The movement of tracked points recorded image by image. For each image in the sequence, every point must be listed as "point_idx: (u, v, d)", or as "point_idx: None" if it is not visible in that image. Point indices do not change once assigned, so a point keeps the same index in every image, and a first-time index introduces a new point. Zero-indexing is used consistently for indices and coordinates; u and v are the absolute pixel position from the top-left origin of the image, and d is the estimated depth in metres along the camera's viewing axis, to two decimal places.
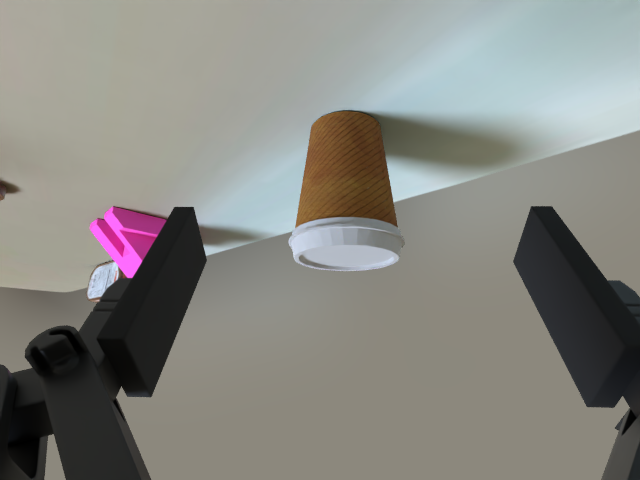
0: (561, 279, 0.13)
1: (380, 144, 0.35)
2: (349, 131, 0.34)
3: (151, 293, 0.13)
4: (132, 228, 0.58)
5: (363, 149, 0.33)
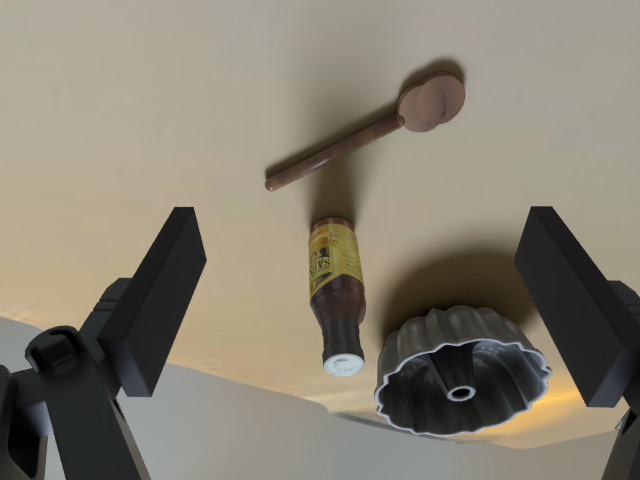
0: (561, 279, 0.13)
1: None
2: None
3: (151, 293, 0.13)
4: None
5: None
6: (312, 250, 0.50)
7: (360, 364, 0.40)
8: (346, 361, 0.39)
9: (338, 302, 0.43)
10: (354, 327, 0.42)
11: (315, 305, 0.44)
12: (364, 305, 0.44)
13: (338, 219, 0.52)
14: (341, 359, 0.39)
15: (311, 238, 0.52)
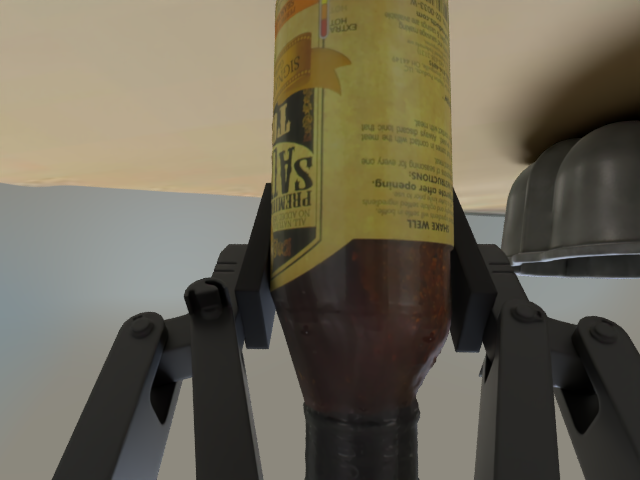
0: None
1: None
2: None
3: (268, 255, 0.14)
4: None
5: None
6: (274, 90, 0.14)
7: None
8: None
9: (338, 358, 0.12)
10: (396, 437, 0.12)
11: None
12: (442, 333, 0.13)
13: None
14: None
15: (275, 26, 0.15)
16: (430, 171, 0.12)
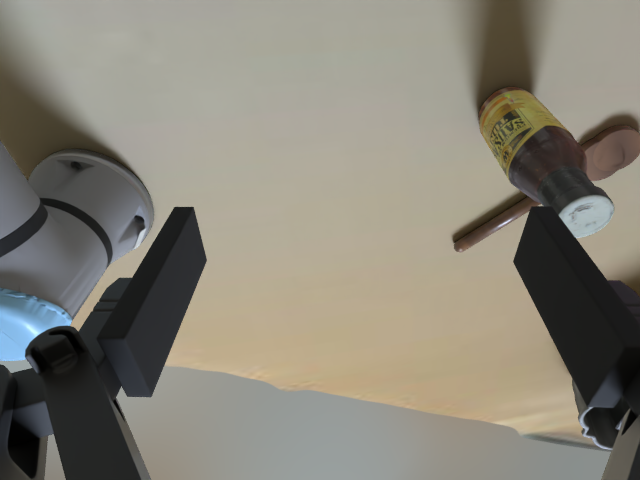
0: (561, 279, 0.13)
1: None
2: None
3: (151, 293, 0.13)
4: None
5: None
6: (492, 123, 0.42)
7: (608, 211, 0.30)
8: (589, 209, 0.30)
9: (552, 153, 0.34)
10: (584, 175, 0.33)
11: (518, 169, 0.36)
12: (585, 155, 0.35)
13: (513, 87, 0.44)
14: (582, 207, 0.30)
15: (484, 116, 0.44)
16: None
